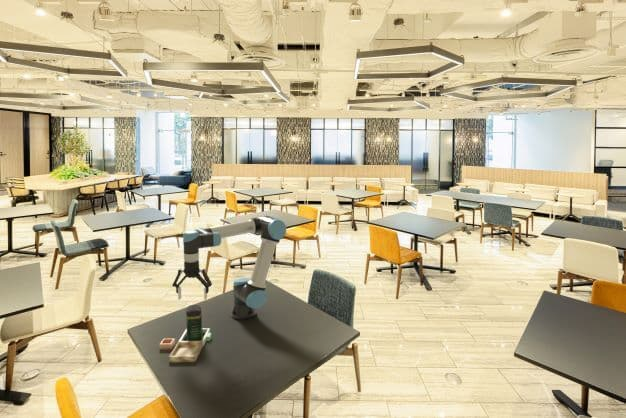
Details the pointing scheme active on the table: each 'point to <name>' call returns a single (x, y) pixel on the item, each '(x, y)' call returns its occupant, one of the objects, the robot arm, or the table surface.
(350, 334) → the table surface
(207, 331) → the frame
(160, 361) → the table surface
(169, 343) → the dish
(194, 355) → the beige shallow box
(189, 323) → the coffee jar
